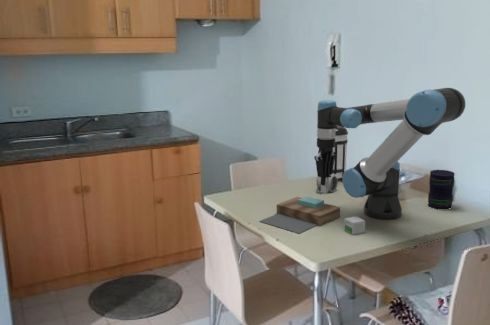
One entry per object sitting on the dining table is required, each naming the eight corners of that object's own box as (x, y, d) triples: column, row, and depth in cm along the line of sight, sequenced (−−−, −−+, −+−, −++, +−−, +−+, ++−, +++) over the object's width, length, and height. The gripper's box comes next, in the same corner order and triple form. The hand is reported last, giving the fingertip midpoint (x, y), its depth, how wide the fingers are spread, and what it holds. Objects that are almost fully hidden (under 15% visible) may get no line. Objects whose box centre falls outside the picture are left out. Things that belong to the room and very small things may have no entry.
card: (324, 205, 210) (324, 200, 210) (315, 208, 206) (315, 204, 205) (306, 200, 216) (306, 196, 216) (297, 204, 212) (297, 199, 211)
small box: (343, 230, 194) (344, 218, 192) (356, 227, 196) (356, 215, 195) (352, 235, 189) (353, 222, 187) (365, 232, 191) (365, 220, 190)
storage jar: (456, 206, 218) (459, 172, 214) (444, 211, 212) (446, 177, 208) (435, 201, 225) (438, 168, 222) (422, 205, 219) (425, 172, 216)
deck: (339, 216, 208) (340, 207, 207) (320, 225, 198) (320, 216, 197) (297, 205, 223) (297, 196, 222) (276, 213, 213) (276, 204, 212)
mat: (317, 225, 199) (317, 224, 199) (299, 233, 190) (299, 233, 190) (278, 214, 212) (278, 213, 212) (259, 221, 204) (259, 221, 204)
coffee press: (312, 178, 265) (312, 121, 258) (334, 173, 274) (336, 118, 267) (335, 185, 251) (336, 125, 244) (358, 180, 260) (360, 122, 253)
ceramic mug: (322, 187, 250) (322, 172, 248) (337, 189, 245) (338, 174, 243) (312, 192, 241) (312, 177, 239) (327, 195, 237) (328, 179, 235)
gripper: (327, 134, 219) (325, 186, 224) (309, 139, 210) (308, 193, 215) (342, 136, 214) (340, 190, 219) (324, 141, 205) (322, 197, 210)
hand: (324, 191), depth 217 cm, fingers closed
